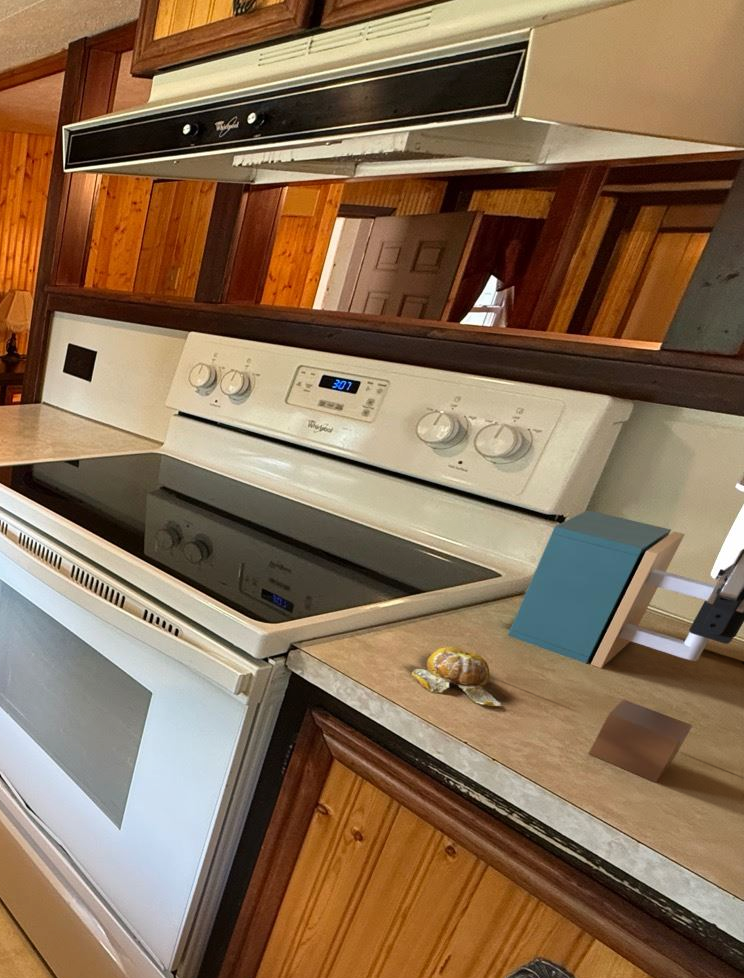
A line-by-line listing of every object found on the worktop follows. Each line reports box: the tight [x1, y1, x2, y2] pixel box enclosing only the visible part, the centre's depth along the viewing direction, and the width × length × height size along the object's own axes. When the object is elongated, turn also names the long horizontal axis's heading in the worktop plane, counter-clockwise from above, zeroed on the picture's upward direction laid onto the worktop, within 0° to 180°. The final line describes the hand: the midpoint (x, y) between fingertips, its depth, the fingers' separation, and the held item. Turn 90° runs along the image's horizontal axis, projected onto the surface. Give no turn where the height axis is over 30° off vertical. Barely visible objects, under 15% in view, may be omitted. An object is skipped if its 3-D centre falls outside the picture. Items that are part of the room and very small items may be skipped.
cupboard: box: [507, 509, 672, 664], centre depth 95 cm, size 8×13×16 cm, turn 122°
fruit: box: [411, 646, 503, 707], centre depth 86 cm, size 8×8×4 cm
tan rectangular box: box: [590, 531, 716, 669], centre depth 89 cm, size 8×13×16 cm, turn 123°
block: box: [588, 699, 693, 784], centre depth 73 cm, size 5×5×5 cm
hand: (711, 634), depth 83 cm, fingers closed on tan rectangular box
